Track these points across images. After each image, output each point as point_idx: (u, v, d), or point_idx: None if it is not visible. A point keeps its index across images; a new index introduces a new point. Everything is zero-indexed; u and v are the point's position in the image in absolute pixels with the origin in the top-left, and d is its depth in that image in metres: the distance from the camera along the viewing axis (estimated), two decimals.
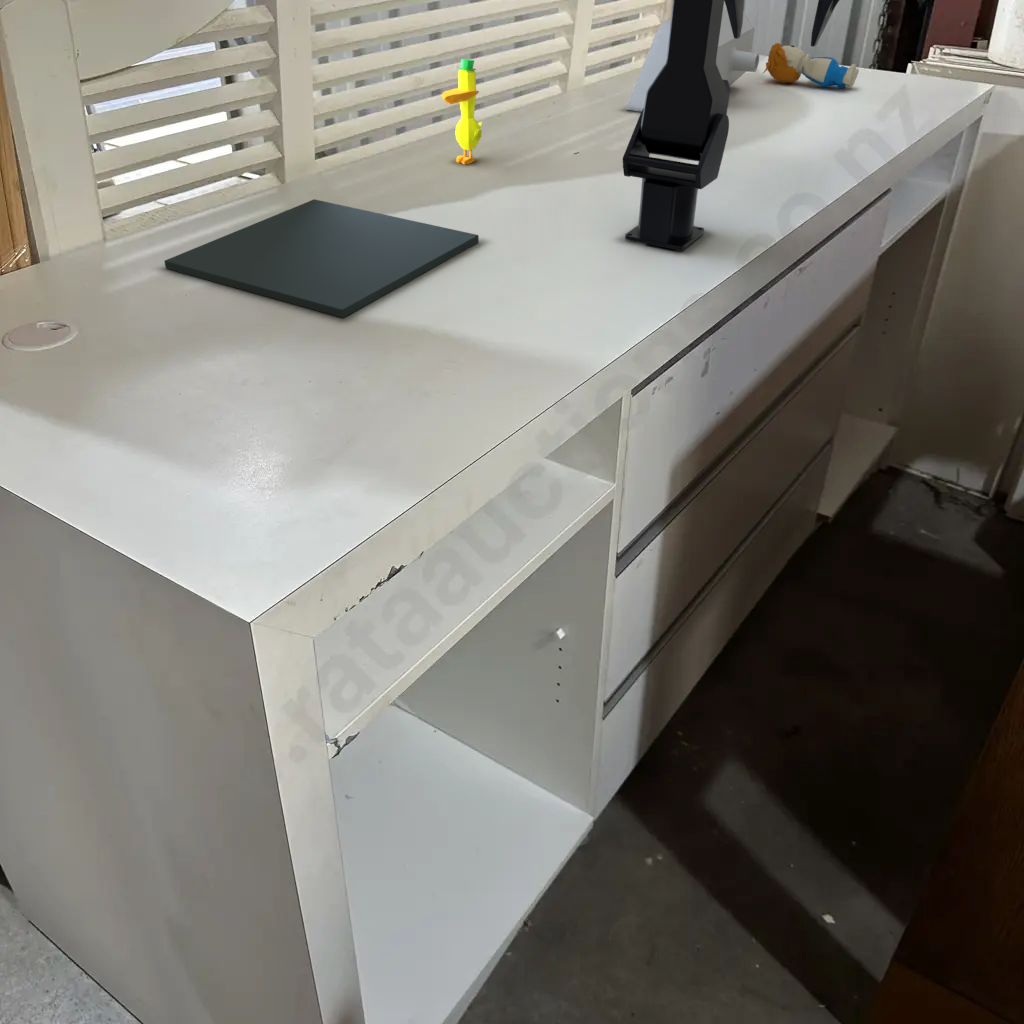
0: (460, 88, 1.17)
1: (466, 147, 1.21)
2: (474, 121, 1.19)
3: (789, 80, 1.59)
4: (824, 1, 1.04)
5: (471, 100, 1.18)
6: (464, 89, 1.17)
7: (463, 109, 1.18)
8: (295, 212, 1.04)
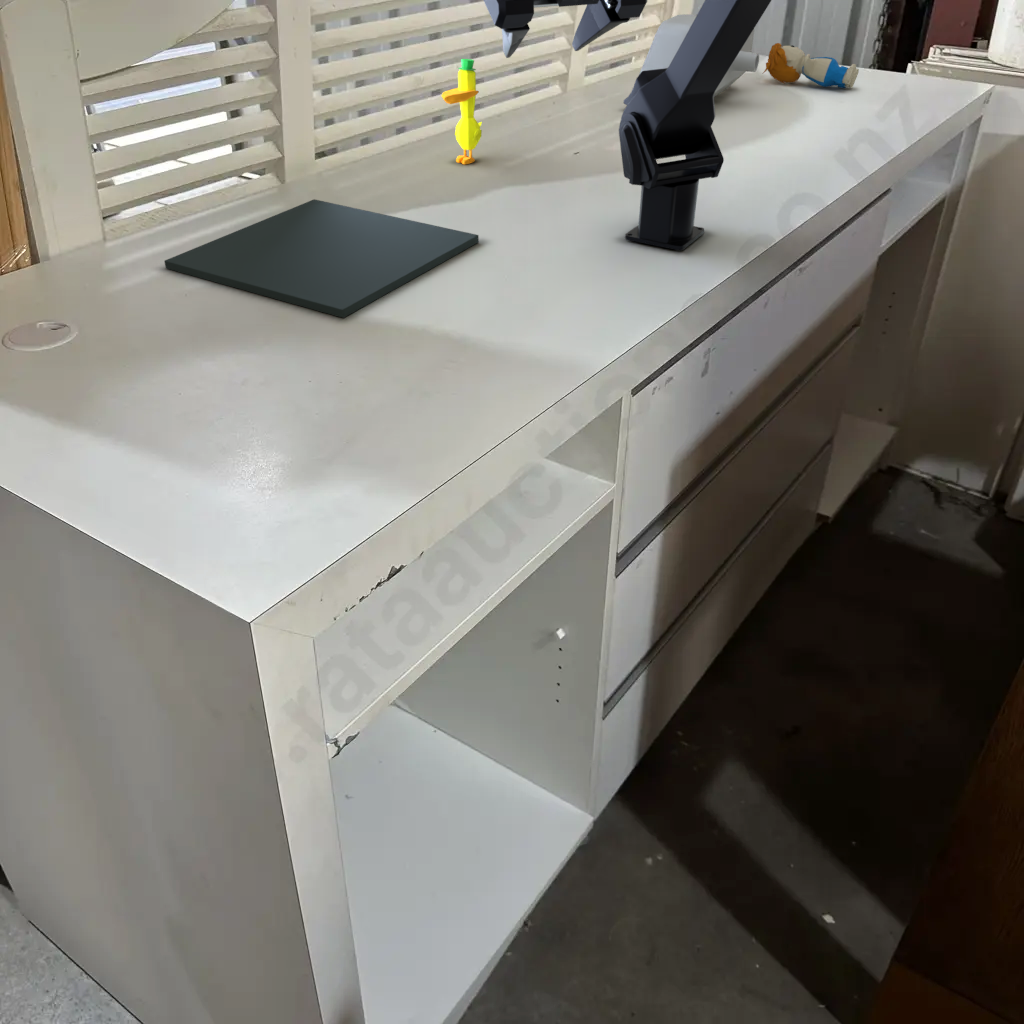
0: (460, 88, 1.17)
1: (466, 147, 1.21)
2: (474, 121, 1.19)
3: (789, 80, 1.59)
4: (604, 30, 1.09)
5: (471, 100, 1.18)
6: (464, 89, 1.17)
7: (463, 109, 1.18)
8: (295, 212, 1.04)
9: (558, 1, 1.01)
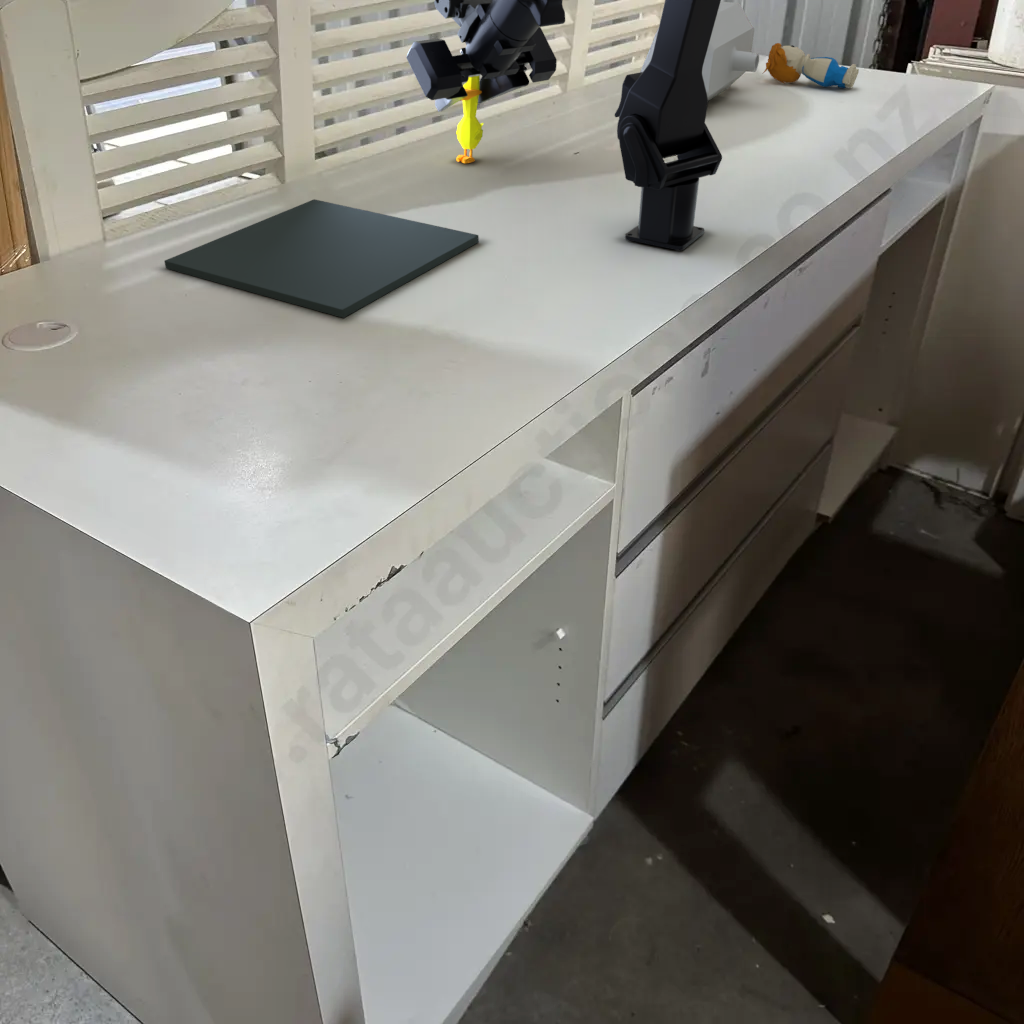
0: None
1: (467, 146, 1.21)
2: (476, 121, 1.20)
3: (789, 80, 1.59)
4: (505, 92, 1.17)
5: (474, 99, 1.18)
6: (467, 88, 1.17)
7: (465, 108, 1.19)
8: (295, 212, 1.04)
9: (482, 74, 1.09)
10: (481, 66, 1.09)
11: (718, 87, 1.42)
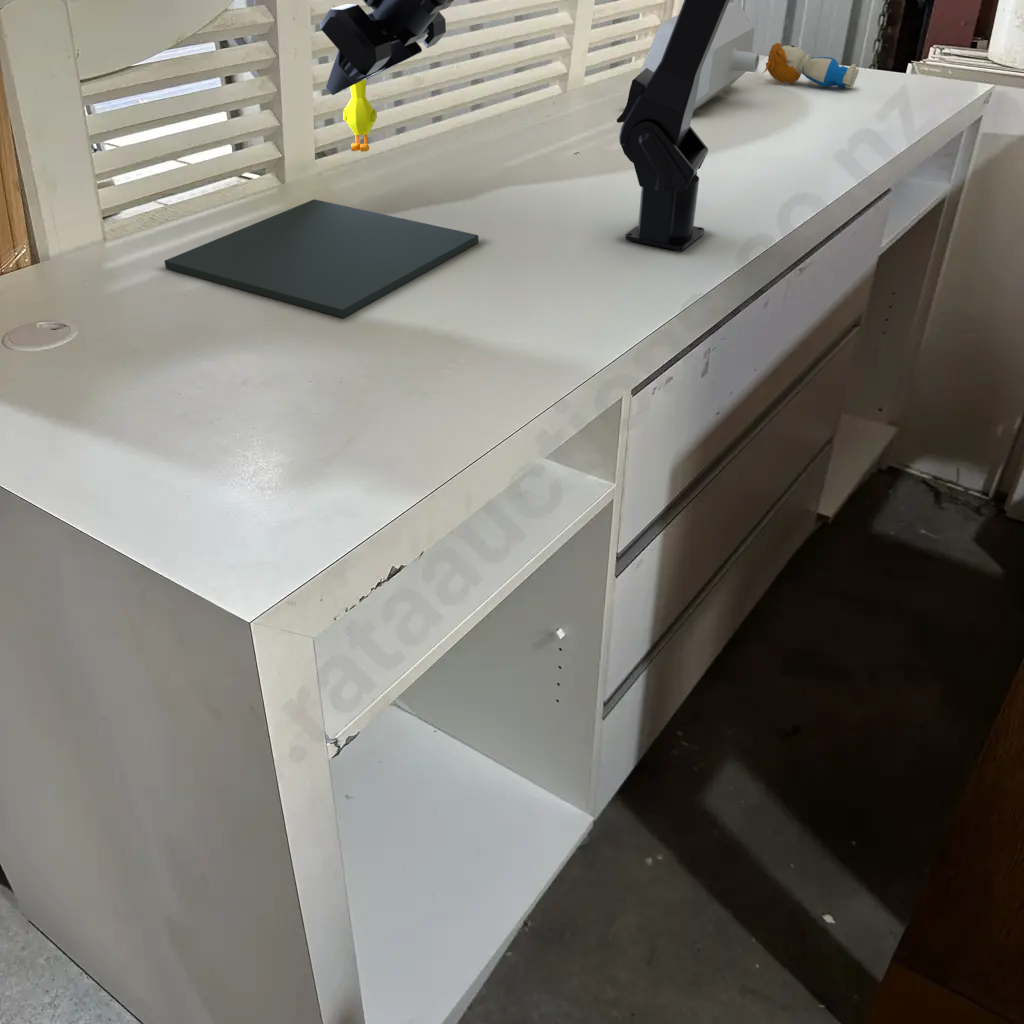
0: None
1: (362, 132, 1.05)
2: (367, 101, 1.04)
3: (789, 80, 1.59)
4: (398, 63, 1.03)
5: None
6: None
7: (356, 87, 1.02)
8: (295, 212, 1.04)
9: (402, 40, 0.95)
10: (400, 31, 0.95)
11: (718, 87, 1.42)
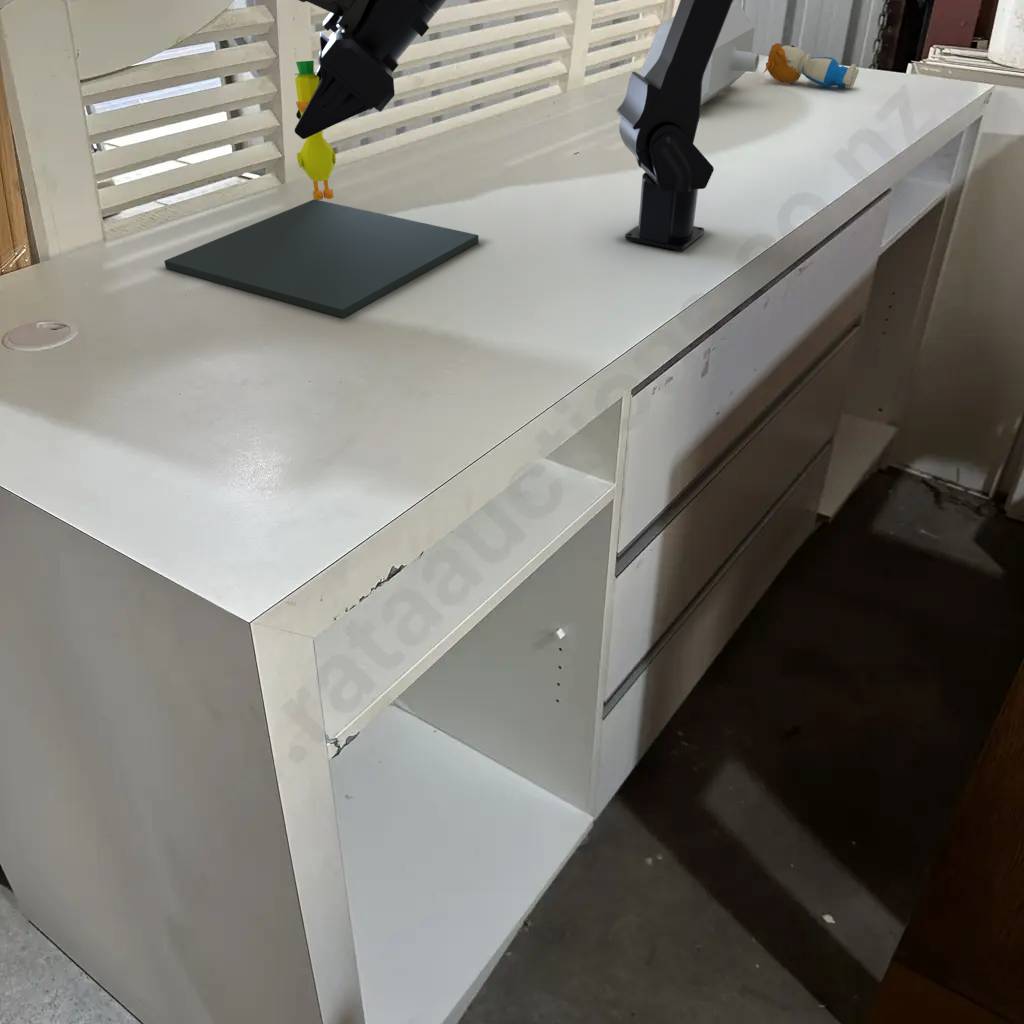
0: (308, 100, 0.87)
1: (325, 176, 0.91)
2: None
3: (789, 80, 1.59)
4: None
5: None
6: None
7: None
8: (295, 212, 1.04)
9: (389, 68, 0.84)
10: (386, 58, 0.84)
11: (718, 87, 1.42)
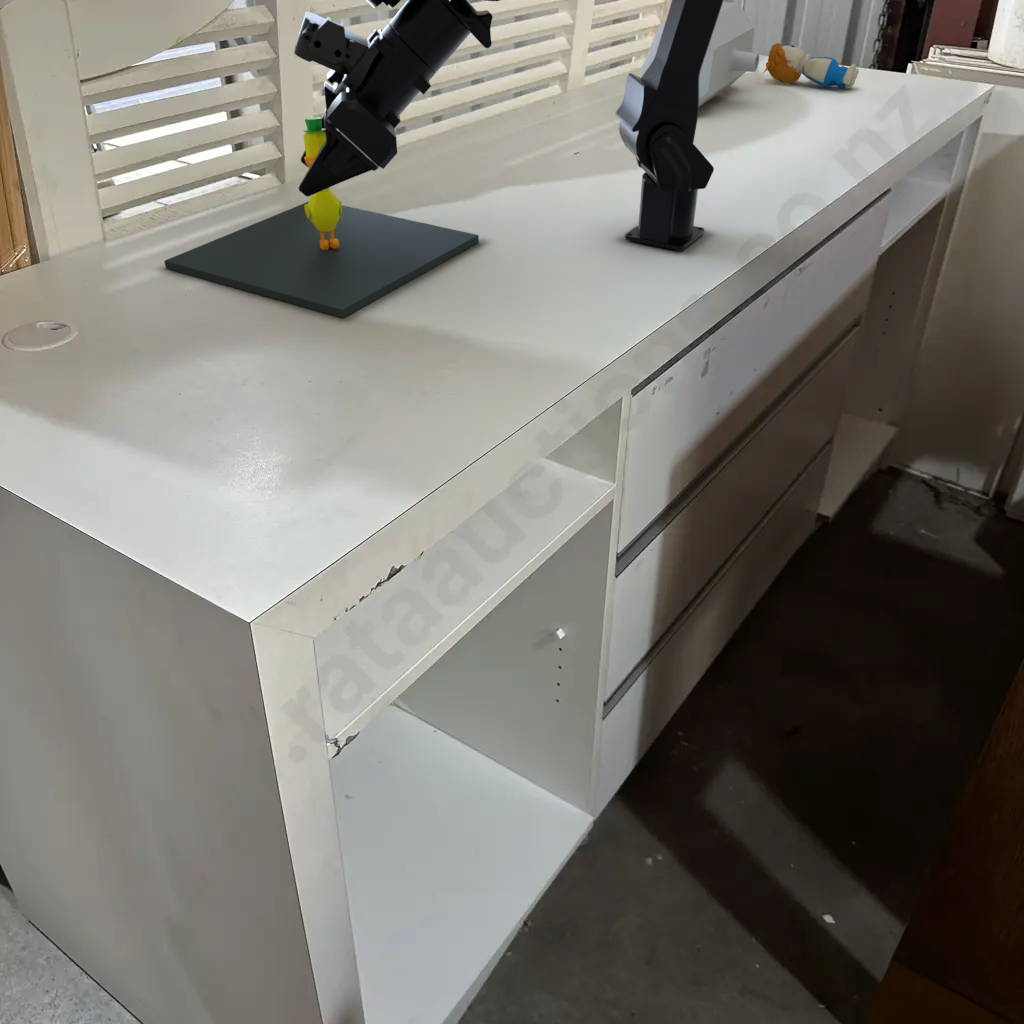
0: None
1: (332, 227, 0.94)
2: (331, 193, 0.93)
3: (789, 80, 1.59)
4: None
5: None
6: None
7: None
8: (295, 212, 1.04)
9: (391, 123, 0.87)
10: (388, 114, 0.86)
11: (718, 87, 1.42)
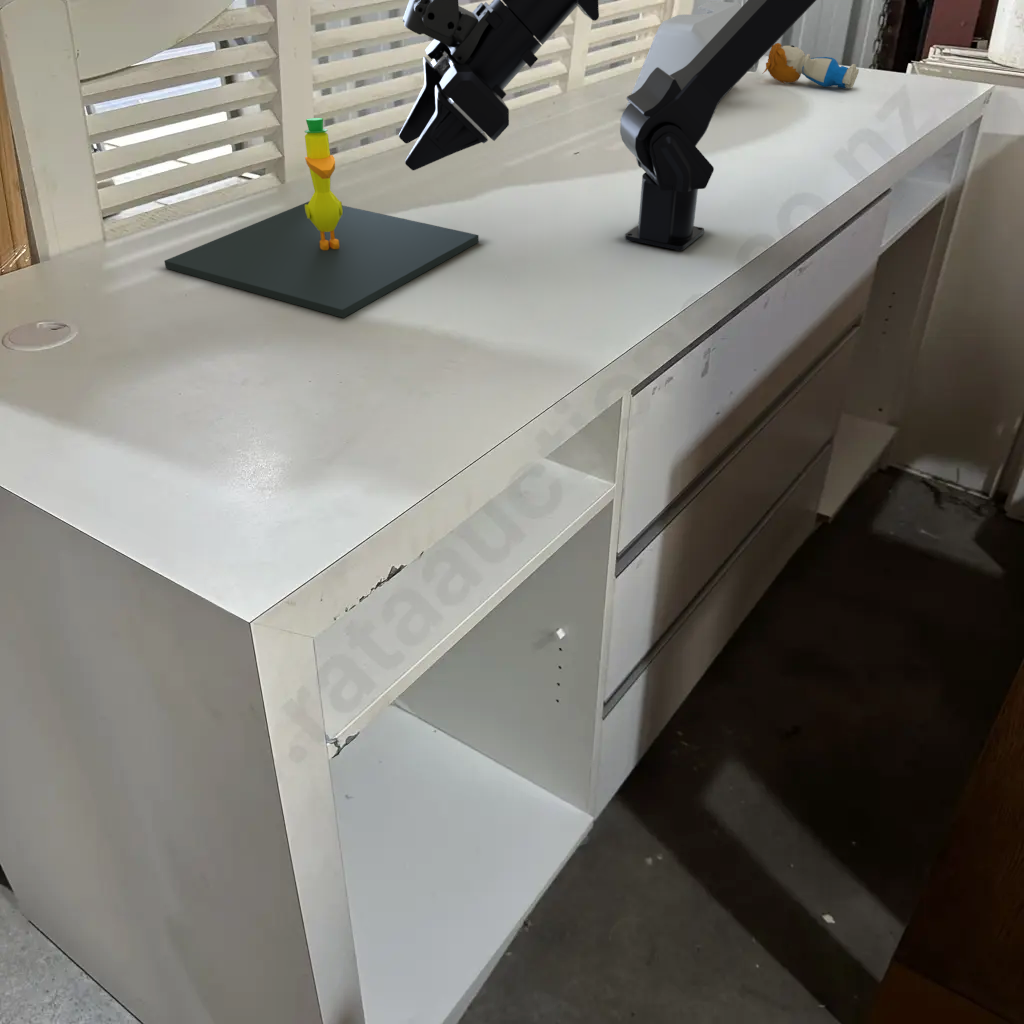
0: (317, 157, 0.90)
1: (332, 228, 0.94)
2: None
3: (789, 80, 1.59)
4: None
5: None
6: (324, 156, 0.90)
7: (323, 182, 0.91)
8: (295, 212, 1.04)
9: None
10: (495, 88, 0.87)
11: None
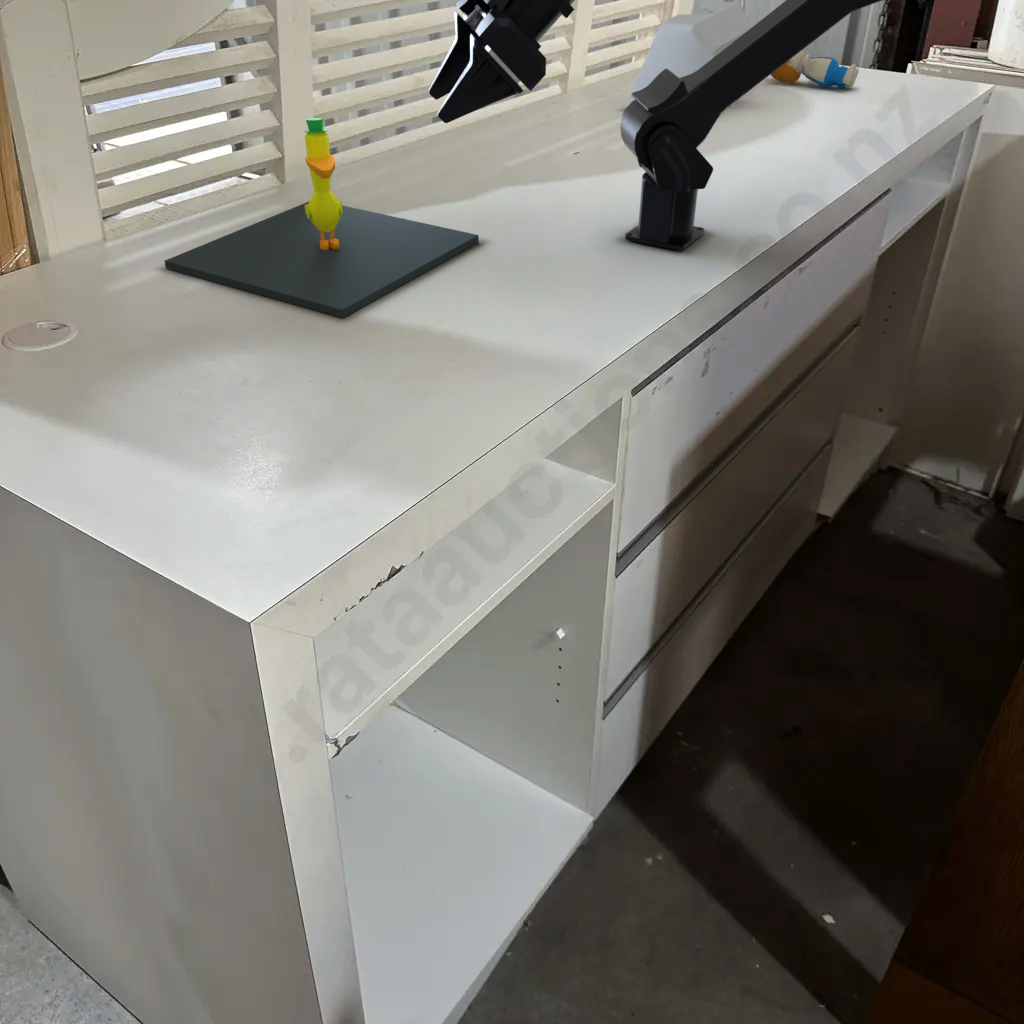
0: (317, 157, 0.90)
1: (332, 228, 0.94)
2: None
3: (789, 80, 1.59)
4: None
5: None
6: (324, 156, 0.90)
7: (323, 182, 0.91)
8: (295, 212, 1.04)
9: None
10: (530, 39, 0.85)
11: None
